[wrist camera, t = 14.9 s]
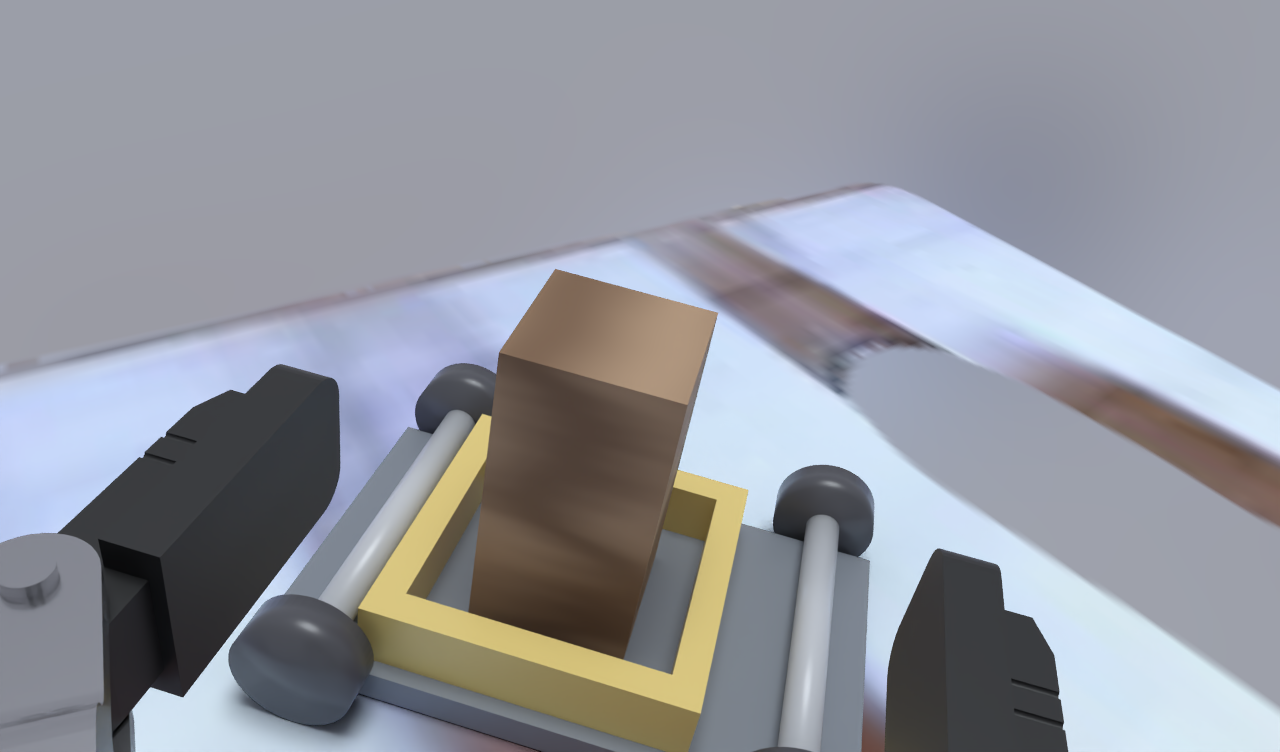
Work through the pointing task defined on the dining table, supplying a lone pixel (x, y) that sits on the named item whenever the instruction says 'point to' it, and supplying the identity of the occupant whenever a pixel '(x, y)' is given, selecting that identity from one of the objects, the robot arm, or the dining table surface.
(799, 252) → the dining table surface
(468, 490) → the chassis
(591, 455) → the brown wooden block
